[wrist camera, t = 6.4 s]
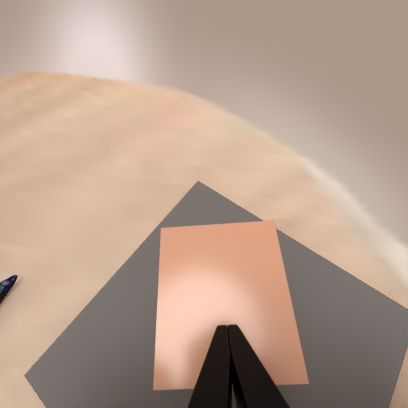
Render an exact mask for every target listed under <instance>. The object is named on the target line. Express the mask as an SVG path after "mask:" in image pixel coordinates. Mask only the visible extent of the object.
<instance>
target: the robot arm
mask: <svg viewBox="0 0 408 408" xmlns="http://www.w3.org/2000/svg"><path fill="white" fill-rule="evenodd" d="M232 386H233V393H234V399H235V404H236V408H290V406H289V405H288V403H287V402H286V400H285V398H284V397H283V395H282V394H281V392H280V391H279V389H278V387H277V386H276V384H275V383H274V381H273V380H272V378H271V376H270V375H269V373H268V372H267V370H266V369H265V367H264V365H263V364H262V362H261V361H260V359H259V358H258V356H257V354H256V353H255V351H254V350H253V348H252V347H251V345H250V343H249V342H248V340H247V339H246V337H245V336H244V334H243V332H242V331H241V329H240V328H239V326H238V325H237V324H229V325H228V326H227V325H218V326H217V327H216V330H215V332H214V335H213V338H212V341H211V343H210V346H209V349H208V351H207V354H206V357H205V360H204V362H203V365H202V368H201V371H200V373H199V376H198V379H197V382H196V384H195V387H194V390H193V393H192V395H191V398H190V401H189V404H188V406H187V408H232V398H233V397H232Z"/></svg>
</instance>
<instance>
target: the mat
mask: <svg viewBox="0 0 408 408" xmlns="http://www.w3.org/2000/svg"><path fill="white" fill-rule="evenodd" d="M257 221H263V220H261V219H260V218H258V217H256V216H255V215H253V214H251V213H250V212H248V211H247V210H245V209H243V208H242V207H240V206H238V205H237V204H235V203H233V202H232V201H230V200H229V199H227V198H225V197H224V196H222V195H220V194H219V193H217V192H216V191H214V190H212V189H211V188H209V187H207V186H206V185H204V184H202V183H201V182H199V181H198V182H197V183H196V184H195V185H194V186H193V187H192V188H191V189H190V190H189V192H188V193H187V194H186V195H185V196H184V197H183V198H182V199H181V201H180V202H179V203H178V204H177V205H176V206H175V207H174V208H173V210H172V211H171V212H170V213H169V214H168V215H167V216H166V217H165V218H164V220H163V221H162V222H161V223H160V224H159V225H158V226H157V227H156V229H155V230H154V231H153V232H152V233H151V234H150V235H149V236H148V237H147V239H146V240H145V241H144V242H143V243H142V244H141V245H140V246H139V248H138V249H137V250H136V251H135V252H134V253H133V254H132V255H131V257H130V258H129V259H128V260H127V261H126V262H125V263H124V264H123V265H122V267H121V268H120V269H119V270H118V271H117V272H116V273H115V274H114V276H113V277H112V278H111V279H110V280H109V281H108V282H107V283H106V285H105V286H104V287H103V288H102V289H101V290H100V291H99V292H98V293H97V295H96V296H95V297H94V298H93V299H92V300H91V301H90V302H89V304H88V305H87V306H86V307H85V308H84V309H83V310H82V311H81V313H80V314H79V315H78V316H77V317H76V318H75V319H74V320H73V321H72V323H71V324H70V325H69V326H68V327H67V328H66V329H65V330H64V332H63V333H62V334H61V335H60V336H59V337H58V338H57V339H56V341H55V342H54V343H53V344H52V345H51V346H50V347H49V348H48V349H47V351H46V352H45V353H44V354H43V355H42V356H41V357H40V358H39V360H38V361H37V362H36V363H35V364H34V365H33V366H32V367H31V369H30V370H29V371H28V372H27V373H26V374H25V375H24V376H25V377H26V379H27V380H28V382H29V383H30V385H31V386H32V387H33V389H34V390H35V392H36V393H37V395H38V396H39V398H40V399H41V401H42V402H43V404H44V405H45V407H46V408H187V406H188V404H189V401H190V398H191V395H192V393H193V390H194V389H171V390H153V382H154V361H155V340H156V320H157V299H158V279H159V258H160V237H161V228H167V227H182V226H197V225H212V224H227V223H242V222H257ZM276 231H277V236H278V241H279V245H280V250H281V255H282V259H283V264H284V269H285V273H286V278H287V283H288V287H289V292H290V297H291V301H292V306H293V311H294V315H295V320H296V325H297V329H298V334H299V339H300V343H301V348H302V353H303V358H304V362H305V367H306V372H307V376H308V381H309V384H291V385H276V386H277V387H278V389H279V391H280V392H281V394H282V395H283V397H284V398H285V400H286V402H287V403H288V405H289V406H290V408H389V405H390V402H391V399H392V396H393V392H394V389H395V386H396V383H397V379H398V376H399V373H400V370H401V366H402V363H403V360H404V357H405V353H406V350H407V347H408V309H406V308H405V307H403V306H402V305H400V304H398V303H397V302H395V301H393V300H392V299H390V298H389V297H387V296H385V295H384V294H382V293H380V292H379V291H377V290H375V289H374V288H372V287H371V286H369V285H367V284H366V283H364V282H362V281H361V280H359V279H358V278H356V277H354V276H353V275H351V274H349V273H348V272H346V271H344V270H343V269H341V268H340V267H338V266H336V265H335V264H333V263H331V262H330V261H328V260H327V259H325V258H323V257H322V256H320V255H318V254H317V253H315V252H313V251H312V250H310V249H309V248H307V247H305V246H304V245H302V244H300V243H299V242H297V241H295V240H294V239H292V238H291V237H289V236H287V235H286V234H284V233H282V232H281V231H279V230H278V229H276ZM232 397H233V398H232V408H236V404H235V399H234V393H233V387H232Z"/></svg>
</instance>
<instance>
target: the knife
mask: <svg viewBox="0 0 408 408" xmlns="http://www.w3.org/2000/svg"><path fill="white" fill-rule="evenodd" d="M17 277H18V276H17V275H13V276H11V277H10V278H8V279H6V280H4V281H2V282H0V303H1V301H2V300H3V299H4V297H5V296H6V295H7V293H8V292H9V291H10V289H11V288H12V287H13V285H14V283H15V281H16V279H17Z"/></svg>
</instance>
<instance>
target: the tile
mask: <svg viewBox="0 0 408 408" xmlns="http://www.w3.org/2000/svg"><path fill="white" fill-rule="evenodd" d="M229 324H237V325H238V326H239V328H240V329H241V331H242V332H243V334H244V336H245V337H246V339H247V340H248V342H249V343H250V345H251V347H252V348H253V350H254V351H255V353H256V354H257V356H258V358H259V359H260V361H261V362H262V364H263V365H264V367H265V369H266V370H267V372H268V373H269V375H270V376H271V378H272V380H273V381H274V383H275V384H276V385H291V384H309V381H308V376H307V372H306V367H305V362H304V358H303V353H302V348H301V343H300V339H299V334H298V329H297V325H296V320H295V315H294V311H293V306H292V301H291V297H290V292H289V287H288V283H287V278H286V273H285V269H284V264H283V259H282V255H281V250H280V245H279V241H278V236H277V231H276V227H275V222H274V220H272V221H257V222H242V223H227V224H212V225H197V226H182V227H167V228H161V237H160V258H159V279H158V299H157V320H156V340H155V361H154V382H153V390H171V389H194V387H195V384H196V382H197V379H198V376H199V373H200V371H201V368H202V365H203V362H204V360H205V357H206V354H207V351H208V349H209V346H210V343H211V341H212V338H213V335H214V332H215V330H216V327H217V326H218V325H227V326H228V325H229ZM232 387H233V386H232Z"/></svg>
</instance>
